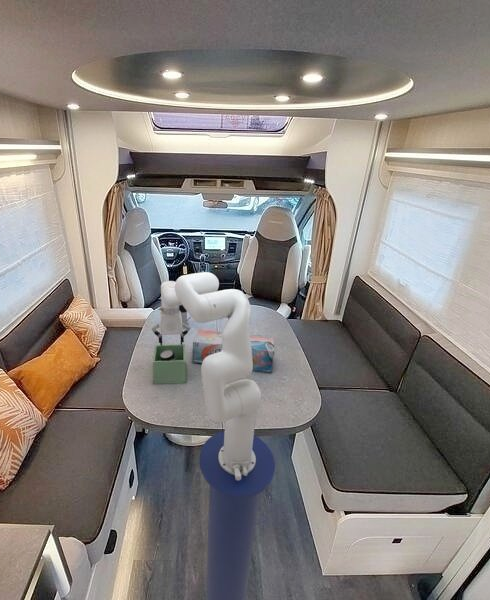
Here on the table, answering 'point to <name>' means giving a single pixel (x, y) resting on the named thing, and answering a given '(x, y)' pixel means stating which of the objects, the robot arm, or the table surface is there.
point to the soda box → (212, 344)
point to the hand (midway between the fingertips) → (171, 343)
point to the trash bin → (169, 365)
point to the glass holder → (183, 315)
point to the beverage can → (167, 356)
